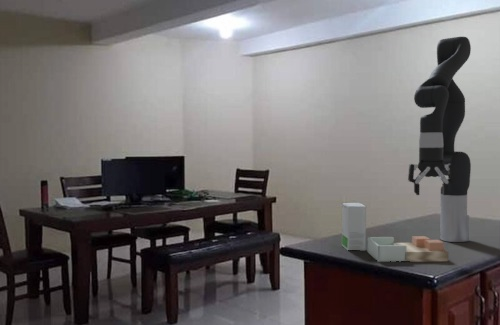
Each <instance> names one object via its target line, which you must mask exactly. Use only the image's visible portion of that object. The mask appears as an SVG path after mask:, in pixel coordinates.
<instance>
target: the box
mask: <svg viewBox="0 0 500 325" xmlns="http://www.w3.org/2000/svg"><path fill="white" fill-rule="evenodd" d="M366 239H367V240H366V241H367V242H366V243H367V244H366V245H367V246H366V252H367V253H368V255H370V256H371V257H372V258H373V259H374V260H377V261H376V262H377V263H397V262H396V261H399V262H398V263H401V261H407V246H406V245H396V244H394V243H395V242H394V240H395V238H394V236H370V237H369V236H367V237H366ZM390 261H391V262H390Z"/></svg>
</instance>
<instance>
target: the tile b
mask: <svg viewBox="0 0 500 325" xmlns="http://www.w3.org/2000/svg"><path fill="white" fill-rule="evenodd" d="M424 248H426V249H428V250H429V251H441V250H445V249H444V248H445V243H444V241H443V240H441V239H430V240H424Z"/></svg>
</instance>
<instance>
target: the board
mask: <svg viewBox="0 0 500 325" xmlns="http://www.w3.org/2000/svg"><path fill="white" fill-rule="evenodd" d="M394 244H396V245H406V246H407V261H410V263H412V262H415V263H417V262H419V263H420V262H421V263H423V262H427V263H428V262H449V250H446V249H444V250H441V251H429V250H428V249H426V248H424V247H416V246H415V245H413V244H412V242H394Z"/></svg>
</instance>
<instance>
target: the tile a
mask: <svg viewBox="0 0 500 325" xmlns="http://www.w3.org/2000/svg"><path fill="white" fill-rule="evenodd" d="M424 240H431V238H429V237H428V236H425V235H421V236H419V235H417V236H416V235H415V236H413V235H411V243H412V244H413V245H415V246H416V247H424Z"/></svg>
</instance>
